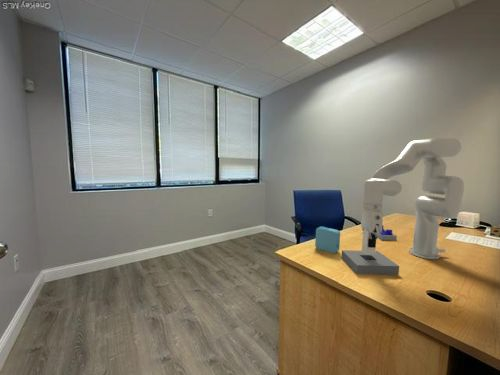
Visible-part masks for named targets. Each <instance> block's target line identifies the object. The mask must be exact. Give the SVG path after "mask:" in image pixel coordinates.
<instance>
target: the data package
mask: <svg viewBox="0 0 500 375" xmlns="http://www.w3.org/2000/svg"><path fill="white" fill-rule="evenodd" d="M340 243H341V232H340V230H338V229H335V228H330V227H326V226H319V227H317V228H316V229H315V243H314V244H315V248H316V249H318V250H321V251H325V252H328V253H331V254H336V253H338V252H339V251H340V245H341V244H340Z"/></svg>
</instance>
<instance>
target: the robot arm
mask: <svg viewBox="0 0 500 375" xmlns="http://www.w3.org/2000/svg"><path fill="white" fill-rule="evenodd" d="M461 149H462V143H461V141H460V140H459V139H457V138H454V137H453V138H452V137H445V138H444V137H442V138H441V137H431V138H423V139H422V138H420V139H413V140H412V141H410V142H408V143H407V145H406V146H405V147H404V148H403V150H402V151H400V153H399V154H398V155H397V157H396V158H395V160H393V161H391V162H389V163H387V164H386V165H384V166H382V167H380V168H378V169H377V170H376V171H375V172H374V173H373V174H372V176H371V177H370V178H369V179H366V180H365V181H364V185H363V186H364V187H363V199H362V212H361V219H360V226H361V229H362V231H363V229H366V230H367V231H369V235H370V239H368V247H371V248H375V247H376V246H377V240H378V237H379V236H380V233H382V225H383V212H382V211H383V210H382V209H383V208H382V207H383V199H384V196H388V197H394V196H395V197H396V196H397V195H399V194H400V193H401V192H402V190H403V189H402V188H403V187H402V184H401V182H399V181H398V180H396V179H392V178H393V177H397V176H399V175H404V174H408V173H410V172H412V171H413V170H414V169H415V168H416V166H417V165H418V164H419V163H420V161H421V160H422V162H423V165H424V169H423V176H422V182H421V190H422V191H423V192H424V193H428V194H432V195H433V196H432V195H419V196H418V197H417V198H416V199H415V201H414V210H415V220H414V222H415V224H414V233H413V240H412V241H413V242H412V243H413V244H412V248H411V247H410V248H409V249H408V252H409V253H410V254H411V255H413V256H415V257H418V258H422V259H427V260H439V259H440V254H439V253H442V254H444V253H446V250H445V248H439V247H437V244H438V237H439V227H440V223H439V220H438V218H437V217H439V218H445V219H454V218H457V217H458V215H459V214H460V211H461V210H460V209H461V205H462V202H463V201H462V200H463V195H464V190H465V184H464V181H463V179H462V178H461V177H458V176H456V175H455V176H454V175H447V169H448V167H447V163H446V161H445V160H444V159H443V158H452V157H455V156H457V155H459V153H460V152H461ZM390 178H391V179H390ZM434 195H442V196H445V197H440V196H434ZM373 231H375V232H373ZM372 234H373V235H372ZM376 248H377V247H376ZM376 248H375V249H376Z"/></svg>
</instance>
